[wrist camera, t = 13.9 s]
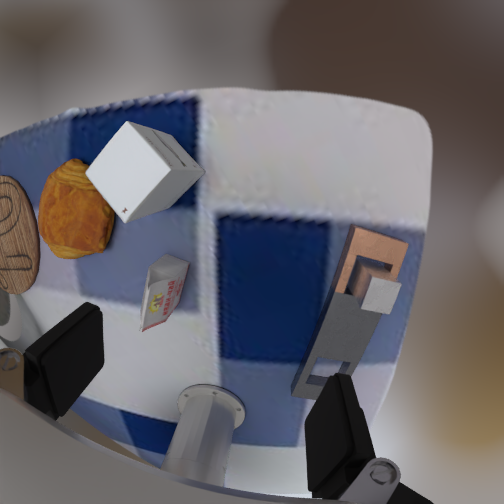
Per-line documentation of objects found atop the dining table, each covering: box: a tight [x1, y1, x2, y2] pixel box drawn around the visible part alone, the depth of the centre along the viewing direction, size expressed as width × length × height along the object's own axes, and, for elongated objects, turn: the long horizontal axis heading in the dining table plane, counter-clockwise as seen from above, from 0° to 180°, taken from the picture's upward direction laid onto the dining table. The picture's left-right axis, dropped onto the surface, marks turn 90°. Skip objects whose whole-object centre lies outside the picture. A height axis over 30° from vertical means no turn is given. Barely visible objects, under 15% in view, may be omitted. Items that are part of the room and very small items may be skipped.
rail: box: [291, 224, 409, 400], centre depth 39 cm, size 28×8×2 cm, turn 166°
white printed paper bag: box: [139, 254, 189, 332], centre depth 35 cm, size 4×7×10 cm, turn 161°
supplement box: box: [85, 121, 205, 223], centre depth 30 cm, size 7×7×13 cm
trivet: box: [0, 175, 40, 294], centre depth 41 cm, size 25×25×2 cm
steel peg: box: [347, 257, 401, 314], centre depth 34 cm, size 4×4×8 cm
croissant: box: [38, 159, 115, 259], centre depth 36 cm, size 14×16×8 cm
